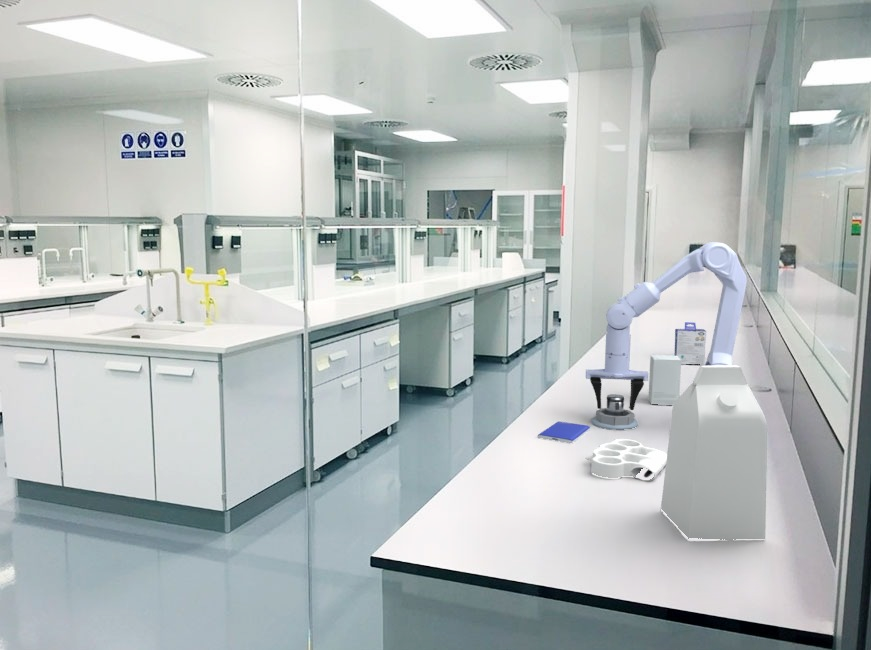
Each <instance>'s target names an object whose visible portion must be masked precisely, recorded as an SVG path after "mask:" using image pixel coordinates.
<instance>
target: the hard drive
mask: <svg viewBox="0 0 871 650" xmlns="http://www.w3.org/2000/svg"><path fill="white" fill-rule="evenodd" d="M590 430H591V426H590V425H587V424H580V423H573V422H566V421H556V422H555V423H553V424H552V425H550V426H549V427H547V428H546V429H544V430H543V431H541V432H539V433H538V434H537V439H540V438H543V439H542V440H546V439H549V441H552V440H555V441H554V442H558V441H560V442H561V443H564V442H567V443H566V444H570V443H573V442H574V443H576V442H577V441H578V440H579V439H580V438H582V437H583V436H584V435H586V434H587V433H588V432H589V431H590ZM586 432H587V433H586ZM581 436H582V437H581ZM577 439H578V440H577ZM576 440H577V441H576ZM574 443H573V444H574Z"/></svg>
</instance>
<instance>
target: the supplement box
mask: <svg viewBox="0 0 871 650" xmlns="http://www.w3.org/2000/svg"><path fill="white" fill-rule="evenodd" d="M649 360H650V361H649V376H648V384H649V385H648V396H647V397H648V398H649V399H648V400H649V402H650V404H651V405H652V404H658V405H657V406H666V405H672V406H671V407H673V406H674V403H675V402H676V400H677V399H678V398H679V397H680V389H681V373H682V372H681V369H682V364H681V360H680V358H679V357H678V356H674V355H671V354H670V355H666V354H663V355H661V354H651V355H650V359H649Z"/></svg>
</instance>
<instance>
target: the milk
mask: <svg viewBox="0 0 871 650" xmlns="http://www.w3.org/2000/svg"><path fill="white" fill-rule="evenodd" d="M694 376H695V377H694V378H693V380H692V383H691V384H690V385H689V386H688V387H687V388H686V389H685V390H684V391H683V393H682V394H681V395H679V398H678V399H677V400H676V402H675V403H674V406H672V410H671V418H670V426H669V433H668V434H669V437H668V444H667V452H666V454H667V460H666V465H665V470H664V478H663V487H662V496H661V504H660V505H661V506H660V510H661V509H662V510H663V511H664V512H665V513H666V514H667V516H668V517H669V518H670V519H671V520H672V521H673V522H674V523H675V524H676V525H677V526H678V528H679V529H680V530H681V531H682V532H683V533H684V534H685V535H686V536H687V537H688V539H689V538H698V539H699V538H700V539H701V538H702V539H720V540H722V539H723V540H724V539H725V540H733V539H734V540H736V539H765V540H766V527H767V526H766V525H767V524H766V522H767V520H766V519H767V517H766V516H767V508H766V507H767V472H768V471H767V470H768V469H767V468H768V467H767V466H768V465H767V462H768V421H767V419H766V416H765V414H764V411H763V410H762V408H761V406H760V404H759V403H758V401H757V399H756V397H755V394H753V391H752V390H751V388H750V386H749V385H748V382H747V379H746V377H745V375H744V371H743V370H742V367H741V366H739V365H734V364H732V365H721V366H704V365H699V366H698V369H697V371H696V374H695V375H694Z"/></svg>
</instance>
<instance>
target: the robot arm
mask: <svg viewBox="0 0 871 650" xmlns="http://www.w3.org/2000/svg"><path fill="white" fill-rule="evenodd" d="M704 268H705V269H707V270H708V271H710V272H712V273H713V274H714V276H715V277H716V278H717V279H718V280H719V281H720V282H721V284H722V289H721V293H720V300H719V304H718V310H717V314H716V319H715V324H714V330H713V334H712V341H711V345H710V350H709V353H708V355H707V358H706V362H705V363H704V365H703V366H721V365H733V353H734V347H735V343H736V340H737V339H736V338H737V333H738V328H739V323H740V318H741V313H742V307H743V303H744V297H745V294H746V288H747V284H748V278H747V275H746V273H745V271H744V269H743V267H742V265H741V262H740V261H739V258H738V254H737V253H736V252H735V251H734V250H733V249H732V248H731V247H730V246H728V244H725V243H723V242H716V241H710V242H706V243H704V244H703V245H702V246H701V247H700V248H696V249H695V250H693V251H691V252H690V253H688V254H687V255H685V256H683V257H682V258H681V259H679V261H677V262H676V263H675V264H674V265H672V266H671V267H670V268H669V269H667V270H666V271H665V272H663V273H662V274H661V275H660V276H659V277H657V278H656V279H655V280H653V282H649V281H648V282H647V281H643V282H642V283H639V282H638V283H636V284H635V285H633V286H634V289H632V290H631V291H629V293H627V294H625V295H624V297H622V296H620V297H618V298H617V301H618V302H616V303H613V304H611V305H610V306H609V307H608V309H607V311H606V314H605V316H606V321H607V326H606V333H605V351H604V352H605V353H604V354H605V356H604V368H601V369H585V379H586V380H590V383H591V386H592V389H593V390H594V393H595V400H596V403H597V404H596V405H597V406H596V407H597V409H598V410H599V409H602V396H601V395H602V380H624V381H625V380H627V381H628V380H630V398H629V411H634V409H635V405H636V402H637V399H638V397H639V394H640V392H641V391H642V389H643V387H644V385H645V382H649V372H648V371H642V370H633V369H630V360H631V359H630V358H631V357H630V355H631V336H632V335H631V334H630V331H631V330H630V326H631V324H632V322H633V320H634V318H639V317H640V316H641V315H642V314H644V313H645V312H647V311H648V310H649V309H650V308H652V307H653V306H655V305H656V304H658V303H659V302H660V300H661V294H662V293H663V292H664V291H666V290H667V289H669V288H670V287H672V286H673V285H674V284H676V283H677V282H679V281H680V280H681V279H683V278H684V277H686V276H687V275H689V274H691V273H698V272H704V271H705V269H704Z"/></svg>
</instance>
